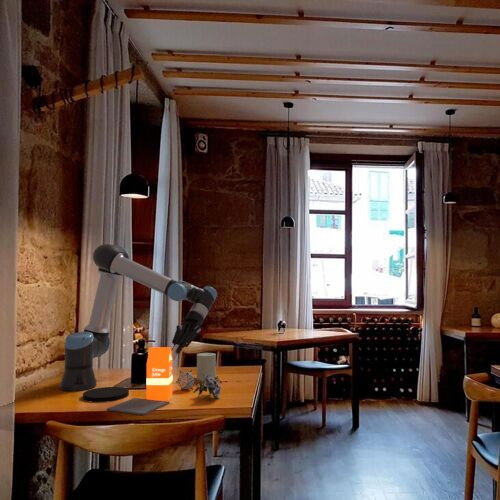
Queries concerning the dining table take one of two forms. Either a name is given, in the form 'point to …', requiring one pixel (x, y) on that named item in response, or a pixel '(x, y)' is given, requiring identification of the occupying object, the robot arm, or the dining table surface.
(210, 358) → the can
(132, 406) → the mat
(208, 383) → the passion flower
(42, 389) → the dining table surface
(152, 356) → the orange juice
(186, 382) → the game die
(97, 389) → the wireless charger
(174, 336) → the robot arm
